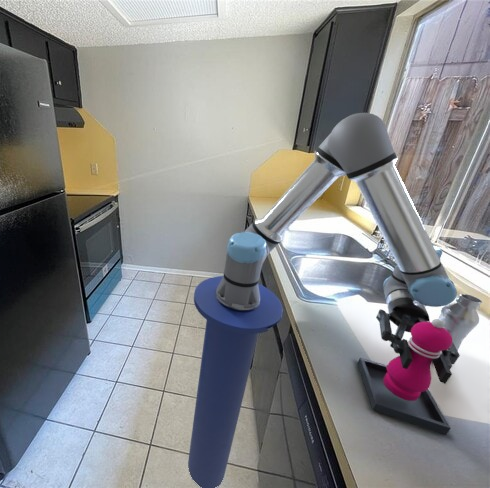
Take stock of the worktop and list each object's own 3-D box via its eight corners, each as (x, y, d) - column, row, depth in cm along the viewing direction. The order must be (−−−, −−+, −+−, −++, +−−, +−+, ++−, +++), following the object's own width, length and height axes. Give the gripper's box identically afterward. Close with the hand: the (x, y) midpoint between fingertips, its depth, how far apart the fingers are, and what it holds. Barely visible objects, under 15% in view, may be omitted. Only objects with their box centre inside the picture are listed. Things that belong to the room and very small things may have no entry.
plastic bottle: (438, 370, 67) (479, 308, 59) (411, 350, 73) (444, 291, 65) (457, 366, 69) (499, 305, 60) (428, 347, 75) (463, 289, 66)
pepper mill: (397, 373, 63) (434, 307, 55) (429, 401, 57) (477, 331, 49) (372, 376, 62) (407, 310, 54) (402, 405, 56) (446, 335, 48)
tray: (357, 363, 68) (359, 357, 67) (416, 380, 64) (420, 374, 63) (372, 409, 57) (376, 403, 56) (446, 434, 52) (451, 428, 52)
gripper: (445, 335, 66) (481, 408, 48) (360, 308, 75) (364, 362, 57) (460, 311, 63) (504, 381, 45) (370, 286, 72) (376, 336, 54)
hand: (426, 370), depth 51 cm, fingers closed on pepper mill, 5 cm apart
